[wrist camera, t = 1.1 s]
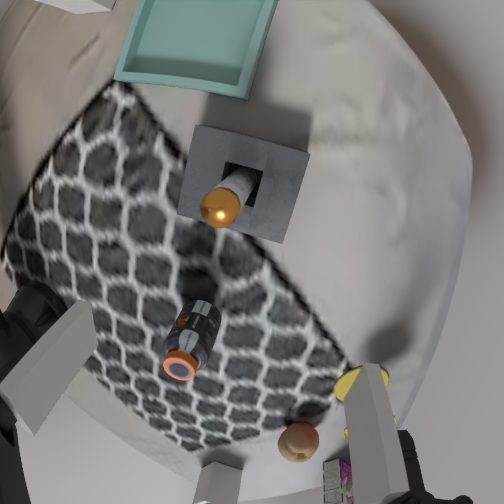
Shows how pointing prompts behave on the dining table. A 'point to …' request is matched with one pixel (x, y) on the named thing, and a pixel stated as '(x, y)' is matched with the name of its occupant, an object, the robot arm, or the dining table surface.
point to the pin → (228, 198)
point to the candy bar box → (337, 482)
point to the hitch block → (251, 155)
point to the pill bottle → (191, 339)
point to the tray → (196, 44)
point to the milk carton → (82, 5)
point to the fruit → (298, 442)
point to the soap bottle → (218, 484)
